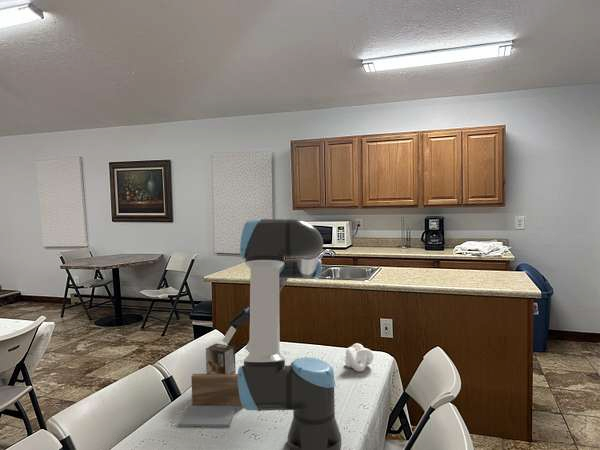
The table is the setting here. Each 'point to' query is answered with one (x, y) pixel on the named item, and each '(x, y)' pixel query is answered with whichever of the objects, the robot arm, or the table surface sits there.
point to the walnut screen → (215, 389)
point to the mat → (207, 416)
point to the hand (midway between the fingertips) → (235, 346)
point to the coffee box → (220, 359)
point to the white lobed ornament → (358, 357)
